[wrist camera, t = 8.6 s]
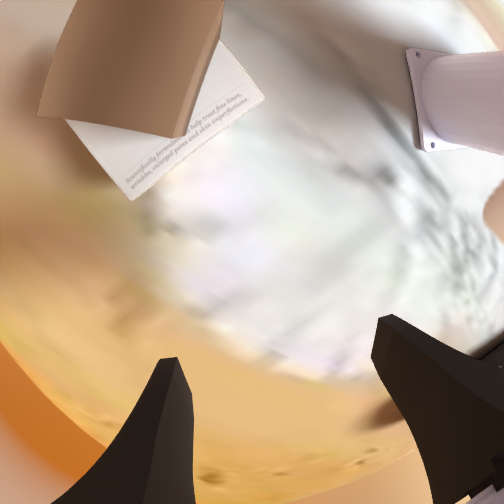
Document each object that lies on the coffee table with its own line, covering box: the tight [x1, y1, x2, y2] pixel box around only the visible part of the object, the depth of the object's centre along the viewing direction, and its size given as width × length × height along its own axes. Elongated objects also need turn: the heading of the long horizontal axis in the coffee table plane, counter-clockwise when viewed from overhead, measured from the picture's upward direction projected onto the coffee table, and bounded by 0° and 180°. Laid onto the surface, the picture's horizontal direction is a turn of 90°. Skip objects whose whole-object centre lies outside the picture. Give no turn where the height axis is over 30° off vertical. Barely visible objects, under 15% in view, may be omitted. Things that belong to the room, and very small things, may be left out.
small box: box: [65, 39, 265, 201], centre depth 12 cm, size 8×8×5 cm
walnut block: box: [37, 0, 225, 139], centre depth 8 cm, size 5×5×4 cm
